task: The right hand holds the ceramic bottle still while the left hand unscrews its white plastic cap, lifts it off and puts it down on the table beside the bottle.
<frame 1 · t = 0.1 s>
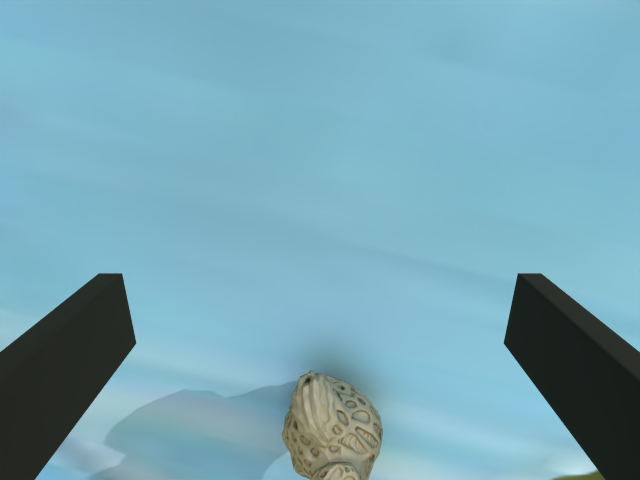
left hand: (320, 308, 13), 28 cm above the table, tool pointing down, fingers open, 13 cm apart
beige rounded piece: (332, 401, 50), on the table
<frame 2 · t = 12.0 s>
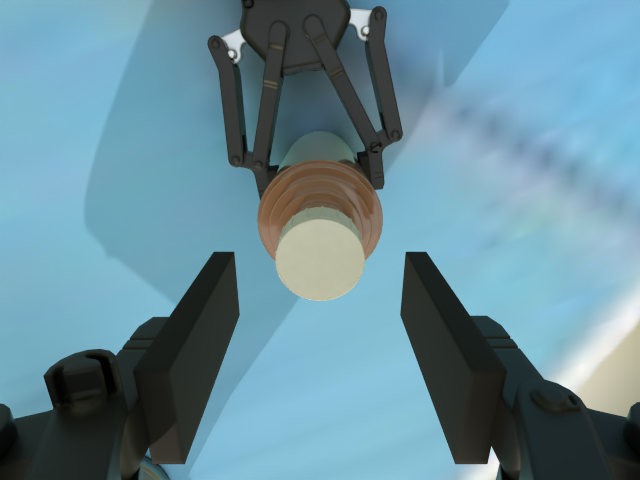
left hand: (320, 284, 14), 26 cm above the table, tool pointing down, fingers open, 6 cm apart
right hand: (328, 230, 35), fingers closed on bottle, 7 cm apart
bottle: (320, 166, 39), on the table, touching right hand
cap: (320, 259, 17), point 24 cm above the table, screwed on, not yet turned
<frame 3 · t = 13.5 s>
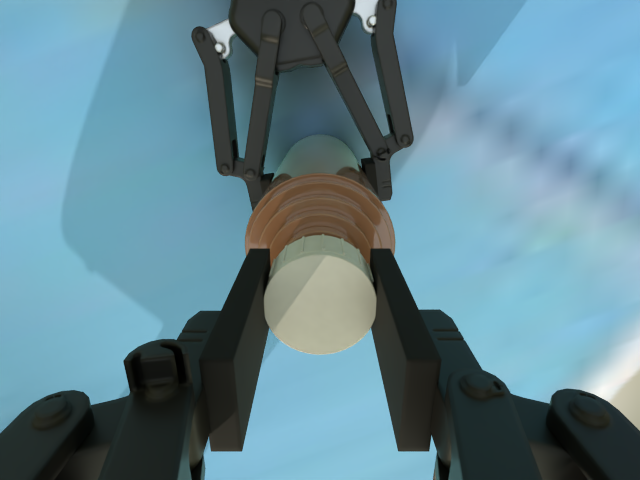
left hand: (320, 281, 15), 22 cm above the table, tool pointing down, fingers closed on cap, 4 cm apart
right hand: (329, 246, 31), fingers closed on bottle, 7 cm apart
bottle: (320, 173, 35), on the table, touching right hand
cap: (320, 303, 13), point 24 cm above the table, screwed on, not yet turned, touching left hand
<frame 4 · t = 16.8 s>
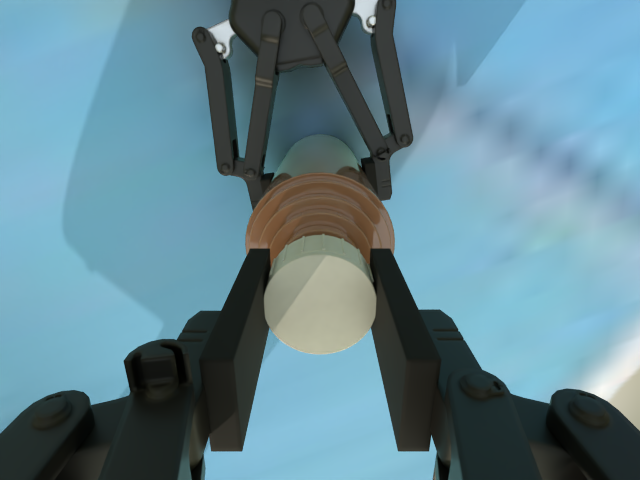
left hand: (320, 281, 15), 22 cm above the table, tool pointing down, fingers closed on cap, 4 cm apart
right hand: (329, 245, 32), fingers closed on bottle, 7 cm apart
bottle: (320, 173, 36), on the table, touching right hand
cap: (320, 302, 13), point 24 cm above the table, turned 105° so far, risen 0.1 cm, still on its thread, touching left hand
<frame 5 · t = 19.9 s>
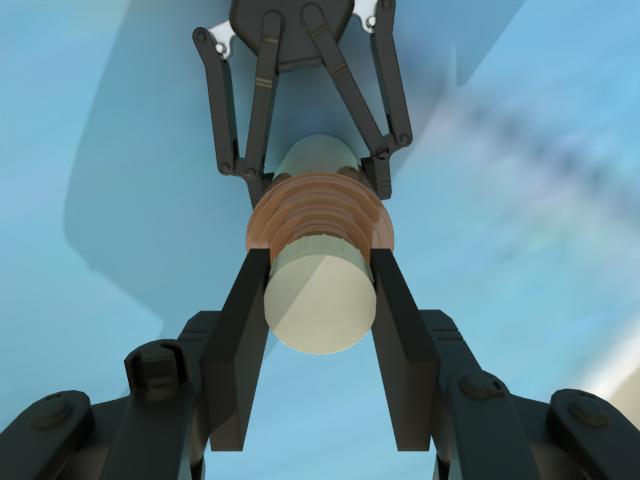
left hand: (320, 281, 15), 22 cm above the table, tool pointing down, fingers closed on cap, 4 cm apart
right hand: (329, 244, 32), fingers closed on bottle, 7 cm apart
bottle: (320, 173, 36), on the table, touching right hand
cap: (320, 302, 13), point 24 cm above the table, turned 211° so far, risen 0.2 cm, still on its thread, touching left hand
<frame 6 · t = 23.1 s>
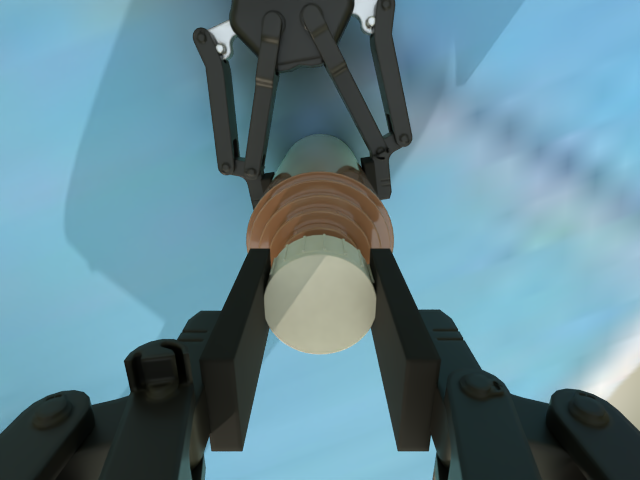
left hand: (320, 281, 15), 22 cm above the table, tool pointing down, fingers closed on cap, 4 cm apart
right hand: (329, 244, 32), fingers closed on bottle, 7 cm apart
bottle: (320, 172, 36), on the table, touching right hand
cap: (320, 302, 13), point 24 cm above the table, turned 316° so far, risen 0.4 cm, still on its thread, touching left hand
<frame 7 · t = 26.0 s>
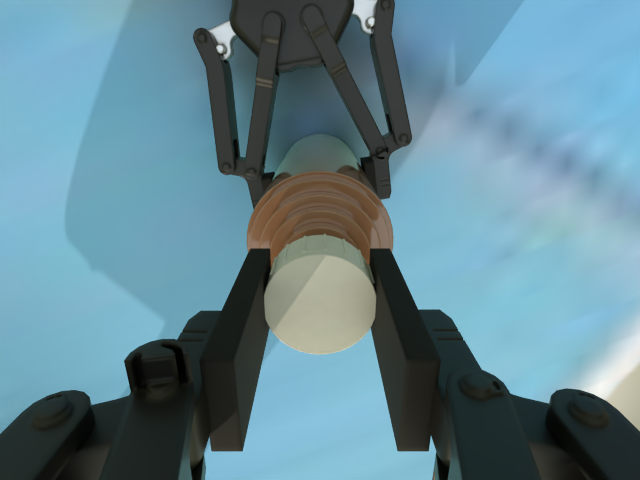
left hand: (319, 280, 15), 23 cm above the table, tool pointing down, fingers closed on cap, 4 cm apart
right hand: (329, 243, 32), fingers closed on bottle, 7 cm apart
bottle: (320, 172, 36), on the table, touching right hand
cap: (320, 302, 13), point 24 cm above the table, turned 421° so far, risen 0.5 cm, still on its thread, touching left hand
when the left hand's fingers open (2 cm above the table, at t = 32.7 s): cap drops 2 cm, point 2 cm above the table.
when the right hand's fingers open (6 cm above the table, at t = 33.9 s): bottle stays where it is, on the table.
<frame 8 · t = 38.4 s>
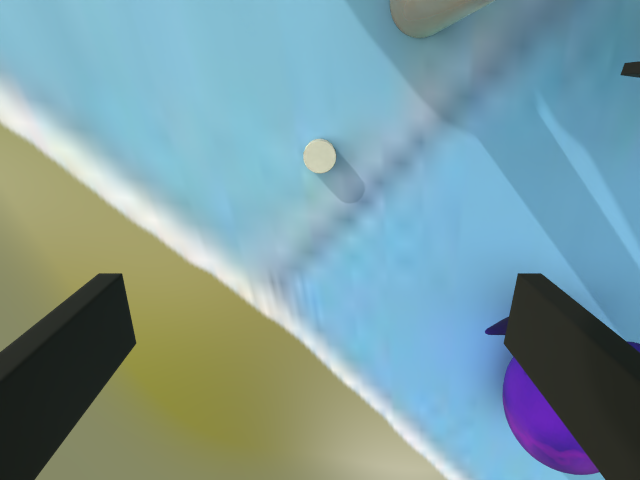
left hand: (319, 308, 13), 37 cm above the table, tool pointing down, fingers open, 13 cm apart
toy: (523, 340, 57), on the table
bottle: (422, 1, 42), on the table
cap: (319, 156, 46), point 2 cm above the table, off its thread
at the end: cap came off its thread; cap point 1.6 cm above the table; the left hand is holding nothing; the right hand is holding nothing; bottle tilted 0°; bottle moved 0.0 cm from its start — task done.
